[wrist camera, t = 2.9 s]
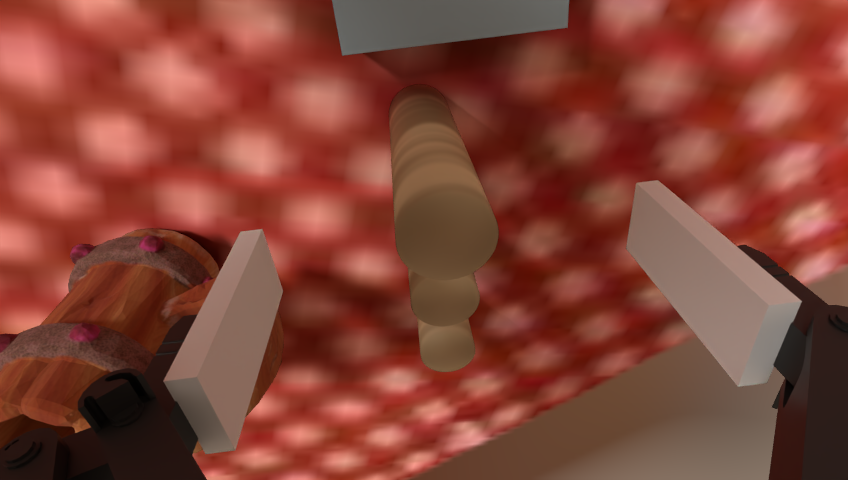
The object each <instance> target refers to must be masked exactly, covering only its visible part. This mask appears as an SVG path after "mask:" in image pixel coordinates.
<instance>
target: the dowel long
mask: <svg viewBox="0 0 848 480" xmlns="http://www.w3.org/2000/svg"><path fill="white" fill-rule="evenodd" d="M389 127H390V145H391V164H392V183H393V201H394V220H395V239H396V247H397V251H398V254H399V256H400V258H401V260H402V261H403V262H404V264H405V265H406V266H407V267H408V268H409V269H410V270H412V271H413V272H415V273H416V274H418V275H420V276H423V277H425V278H429V279H434V280H452V279H458V278H461V277H464V276H467V275H469V274H471V273H473V272H475V271H476V270H478V269H479V268H480V267H482V266H483V265H484V264H485V263H486V262H487V261H488V260H489V258H490V257H491V255H492V254H493V252H494V250H495V248H496V245H497V242H498V234H499V232H498V225H497V221H496V218H495V216H494V214H493V211H492V209H491V207H490V204H489V202H488V200H487V197H486V195H485V192H484V190H483V188H482V185H481V183H480V181H479V178H478V176H477V173H476V171H475V169H474V166H473V164H472V162H471V159H470V157H469V155H468V152H467V150H466V147H465V145H464V143H463V140H462V138H461V136H460V133H459V131H458V128H457V126H456V124H455V121H454V119H453V117H452V114H451V112H450V110H449V107H448V105H447V102H446V100H445V98H444V97H443V96H442V94H441V93H440V92H439V91H437V90H436V89H435V88H433V87H431V86H428V85H423V84H416V85H411V86H408V87H406V88H404V89H402V90H401V91H400V92H399V93H398V94H397V95H396V96H395V97H394V99H393V100H392V102H391V105H390V109H389Z"/></svg>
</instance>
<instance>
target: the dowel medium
mask: <svg viewBox="0 0 848 480" xmlns="http://www.w3.org/2000/svg"><path fill="white" fill-rule="evenodd" d="M408 275H409V286H410V298H411V307H412V310H413V312H414V314H415V315H416V316H417V317H418V318H419V319H420V320H421V321H423V322H425V323H427V324H429V325H433V326H439V327H445V326H452V325H456V324H458V323H461V322H463V321H465V320H466V319H468V318H469V317H470V316H471V315H472V314H473V313H474V312H475V311H476V309H477V307H478V305H479V301H480V294H479V290H478V286H477V283H476V279H475V276H474V272H473V273H471V274H469V275H467V276H464V277H461V278H458V279H452V280H434V279H429V278H425V277H423V276H420V275H418V274H416V273H415V272H413V271H412V270H410V269H409V268H408Z"/></svg>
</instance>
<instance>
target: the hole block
mask: <svg viewBox="0 0 848 480" xmlns="http://www.w3.org/2000/svg"><path fill="white" fill-rule="evenodd" d="M332 3H333V8H334V14H335V19H336V24H337V30H338V35H339V41H340V46H341V51H342V56H343V55H351V54H359V53H367V52H375V51H383V50H391V49H399V48H408V47H416V46H424V45H432V44H440V43H448V42H456V41H464V40H472V39H480V38H489V37H497V36H505V35H513V34H521V33H529V32H537V31H545V30H553V29H561V28H568V11H569V0H332Z"/></svg>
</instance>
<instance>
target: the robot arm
mask: <svg viewBox="0 0 848 480" xmlns="http://www.w3.org/2000/svg"><path fill="white" fill-rule="evenodd" d="M626 249H627V250H628V251H629V253H630V254H631V255H632V256H633V258H634V259H635V260H636V261H637V263H638V264H639V265H640V266H641V268H642V269H643V270H644V271H645V273H646V274H647V275H648V276H649V277H650V279H651V280H652V281H653V282H654V284H655V285H656V286H657V287H658V289H659V290H660V291H661V292H662V294H663V295H664V296H665V297H666V299H667V300H668V301H669V302H670V303H671V305H672V306H673V307H674V308H675V310H676V311H677V312H678V313H679V315H680V316H681V317H682V318H683V320H684V321H685V322H686V323H687V324H688V326H689V327H690V328H691V329H692V331H693V332H694V333H695V334H696V336H697V337H698V338H699V339H700V341H701V342H702V343H703V344H704V345H705V347H706V348H707V349H708V350H709V352H710V353H711V354H712V355H713V357H714V358H715V359H716V360H717V362H718V363H719V364H720V365H721V366H722V368H723V369H724V370H725V372H726V373H727V374H728V375H729V376H730V378H731V379H732V380H733V381H734V383H735V384H736V385H737V386H738V387H741V386H748V385H756V384H764V383H767V382H768V380H769V377H770V375H771V373H772V370H773V368H774V366H775V367H776V368H777V370H778V371H779V372H780V373H781V374H782V375H783V376H784V377H785V380H784V382H783V384H782V386H781V388H780V391H779V393H778V395H777V397H776V399H775V402H774V404H773V406H772V407H773V408H775V409H778V413H777V420H776V429H775V436H774V444H773V451H772V459H771V466H770V474H769V480H848V307H845V306H839V305H828V304H827V303H825V302H824V301H823V300H822V299H820V298H819V297H818V296H817V295H815V294H814V293H813V292H812V291H810V290H809V289H808V288H807V287H805V286H804V285H803V284H802V283H800V282H799V281H798V280H797V279H795V278H794V277H793V276H789V273H788V272H787V271H785V270H784V269H783V268H782V267H778V264H777V263H775V262H774V261H773V260H772V259H770V258H769V257H768V256H767V255H765V254H764V253H762V252H760V251H758V250H755V249H753V248H751V247H749V246H747V245H740V246H736V245H734V244H733V243H732V242H731V241H730V240H729V239H727V238H726V237H725V236H724V235H723V234H721V233H720V232H719V231H718V230H717V229H715V228H714V227H713V226H712V225H711V224H710V223H708V222H707V221H706V220H705V219H704V218H702V217H701V216H700V215H699V214H698V213H696V212H695V211H694V210H693V209H692V208H690V207H689V206H688V205H687V204H686V203H685V202H683V201H682V200H681V199H680V198H679V197H677V196H676V195H675V194H674V193H673V192H671V191H670V190H669V189H668V188H667V187H666V186H664V185H663V184H662V183H661V182H660V181H658V180H655V181H647V182H639V183H636V188H635V194H634V201H633V207H632V213H631V220H630V226H629V233H628V239H627V246H626ZM282 294H283V289H282V286H281V283H280V280H279V277H278V274H277V271H276V268H275V265H274V262H273V259H272V256H271V253H270V250H269V247H268V244H267V241H266V238H265V235H264V232H263V229H259V230H251V231H243V232H240V234H239V236H238V238H237V240H236V241H235V243H234V245H233V247H232V249H231V251H230V253H229V255H228V257H227V259H226V261H225V263H224V265H223V267H222V269H221V270H220V272H219V274H218V276H217V278H216V280H215V282H214V284H213V286H212V288H211V290H210V292H209V294H208V296H207V298H206V300H205V301H204V303H203V305H202V307H201V309H200V311H199V313H198V314H195V315H187V316H183V317H182V318H181V319H180V320H179V321H177V322H176V323H175V324H174V325H173V326H172V327H171V328H170V329H169V331H168V333H167V334H166V336H165V338H164V340H163V341H162V345H160V347H159V348H158V350H157V352H156V356H154V357H153V359H152V361H151V362H150V364H149V366H148V368H147V369H146V371H145V373H144V375H143V374H142V373H141V372H139V371H138V370H137V369H131V368H125V369H120V370H115V371H113V372H111V373H108V374H106V375H104V376H102V377H101V378H99V379H98V380H96V381H95V382H93V383H92V384H91V385H90V386H89V387H88V388H87V389H86V390H85V391H84V392H83V393H82V395H81V397H80V398H79V400H78V411H79V412H80V413H81V415H82V416H83V417H84V419H85V420H86V421H87V422H88V424H89V425H90V426H91V427H90V428H88V429H85V430H82V431H80V432H77V433H74V434H72V435H69V436H66V437H63V438H61V437H60V436H59V434H58V433H57V432H56V431H54V430H53V429H51V428H38V429H35V430H31V431H28V432H26V433H24V434H22V435H20V436H18V437H16V438H15V439H13V440H12V441H10V442H9V443H8V444H6V445H5V446H4V447H2V448H1V449H0V480H207V479H206V477H205V476H204V474H203V473H202V471H201V469H200V468H199V466H198V464H197V463H196V461H195V459H194V458H193V456H192V454H193V452H194V449H195V446H196V444H197V441H198V442H199V443H200V445H201V447H202V448H203V450H204V452H205V454H210V453H218V452H226V451H234V450H236V446H237V443H238V440H239V436H240V433H241V430H242V426H243V423H244V420H245V416H246V413H247V410H248V406H249V403H250V400H251V396H252V393H253V390H254V386H255V383H256V380H257V377H258V373H259V370H260V367H261V363H262V360H263V357H264V353H265V350H266V347H267V343H268V340H269V337H270V333H271V330H272V327H273V323H274V320H275V317H276V313H277V310H278V307H279V303H280V300H281V297H282Z"/></svg>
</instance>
